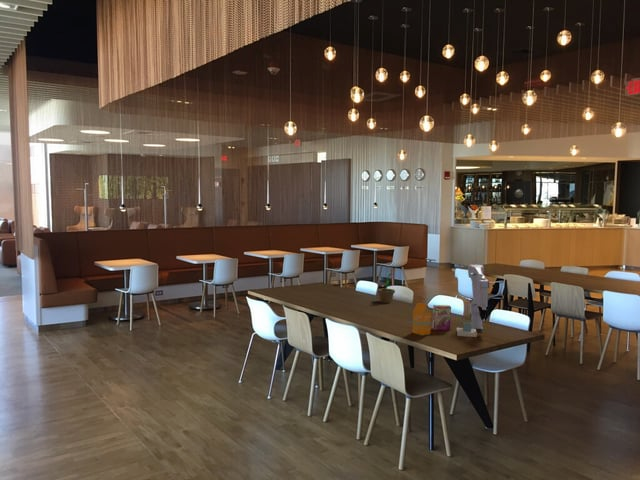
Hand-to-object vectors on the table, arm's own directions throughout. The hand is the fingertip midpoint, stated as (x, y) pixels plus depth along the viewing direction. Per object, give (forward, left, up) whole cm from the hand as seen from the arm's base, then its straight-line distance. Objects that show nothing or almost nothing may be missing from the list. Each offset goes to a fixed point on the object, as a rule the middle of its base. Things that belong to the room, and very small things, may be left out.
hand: (482, 318), depth 345 cm
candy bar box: (-3, -26, -10) cm, 28 cm away
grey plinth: (+5, -10, -10) cm, 15 cm away
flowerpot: (-90, -70, -10) cm, 114 cm away
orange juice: (+11, -39, -10) cm, 42 cm away
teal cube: (+5, -10, -8) cm, 13 cm away
